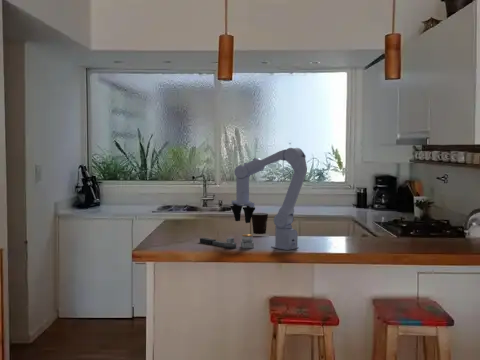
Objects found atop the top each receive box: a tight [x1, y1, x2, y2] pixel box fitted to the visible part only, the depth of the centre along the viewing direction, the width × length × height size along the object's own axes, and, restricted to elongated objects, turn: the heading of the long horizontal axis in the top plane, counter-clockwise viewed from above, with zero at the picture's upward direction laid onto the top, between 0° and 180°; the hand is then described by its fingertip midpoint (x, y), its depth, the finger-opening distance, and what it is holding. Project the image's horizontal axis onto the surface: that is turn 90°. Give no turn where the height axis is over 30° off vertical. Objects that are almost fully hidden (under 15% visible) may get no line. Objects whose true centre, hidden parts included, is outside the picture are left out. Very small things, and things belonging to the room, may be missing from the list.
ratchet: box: [199, 237, 237, 250], centre depth 246 cm, size 22×5×4 cm, turn 45°
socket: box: [240, 233, 255, 249], centre depth 241 cm, size 5×5×6 cm
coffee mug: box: [251, 212, 269, 235], centre depth 283 cm, size 12×9×10 cm
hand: (242, 221), depth 248 cm, fingers open, 7 cm apart
